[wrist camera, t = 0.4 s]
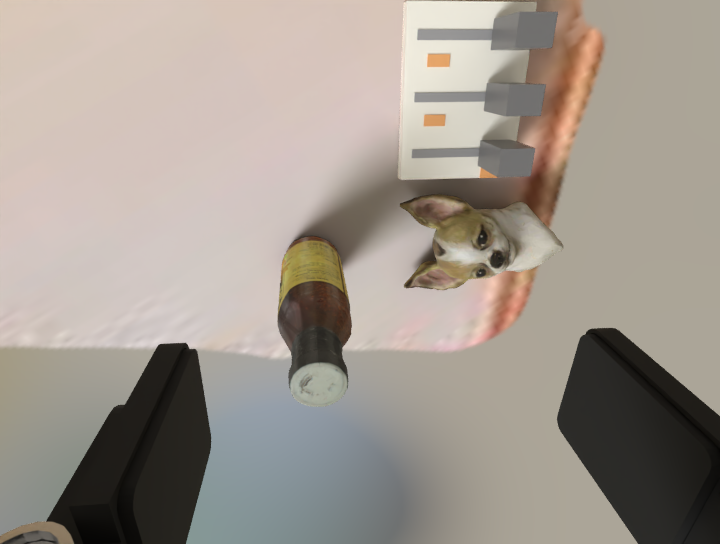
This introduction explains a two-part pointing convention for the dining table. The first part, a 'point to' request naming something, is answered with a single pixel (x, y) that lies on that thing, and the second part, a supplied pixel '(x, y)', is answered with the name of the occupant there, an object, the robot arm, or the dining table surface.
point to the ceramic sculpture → (478, 241)
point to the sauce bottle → (314, 320)
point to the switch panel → (453, 86)
